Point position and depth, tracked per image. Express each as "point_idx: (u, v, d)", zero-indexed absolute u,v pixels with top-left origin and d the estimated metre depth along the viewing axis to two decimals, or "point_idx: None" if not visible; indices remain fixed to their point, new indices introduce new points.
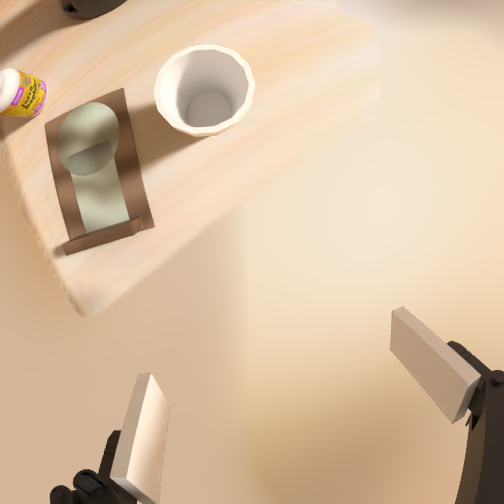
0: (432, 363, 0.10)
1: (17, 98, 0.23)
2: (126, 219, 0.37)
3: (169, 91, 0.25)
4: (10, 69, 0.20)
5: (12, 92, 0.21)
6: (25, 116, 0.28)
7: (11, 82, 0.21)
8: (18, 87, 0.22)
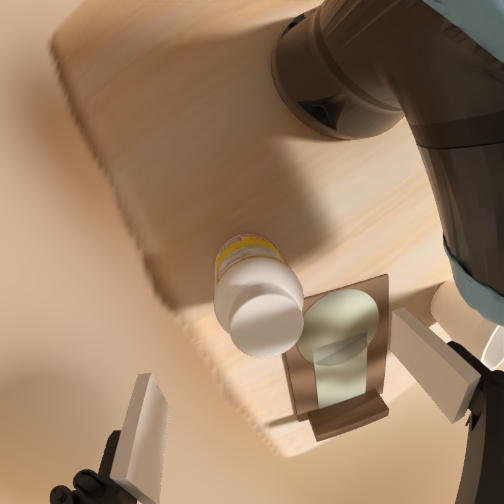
0: (432, 363, 0.10)
1: None
2: (363, 393, 0.37)
3: None
4: (287, 274, 0.19)
5: None
6: None
7: (299, 305, 0.20)
8: None
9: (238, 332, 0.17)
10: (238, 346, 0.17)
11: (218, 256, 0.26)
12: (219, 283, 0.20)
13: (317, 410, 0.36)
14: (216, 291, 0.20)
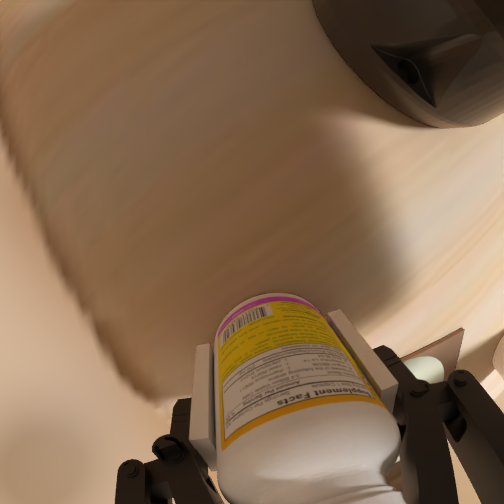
0: None
1: None
2: None
3: None
4: (386, 436, 0.06)
5: None
6: None
7: (391, 468, 0.07)
8: None
9: None
10: None
11: (220, 343, 0.13)
12: (229, 459, 0.07)
13: None
14: (222, 471, 0.07)
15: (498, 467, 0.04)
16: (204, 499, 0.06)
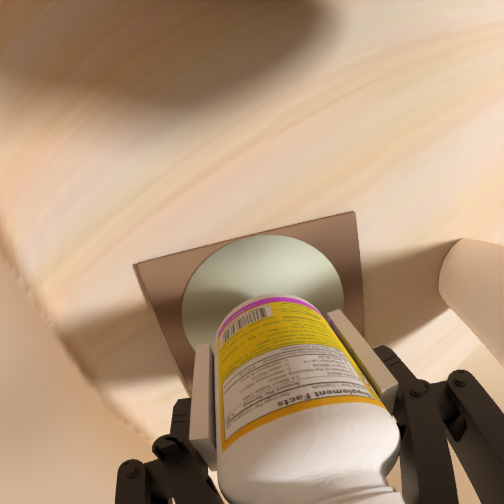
0: None
1: None
2: None
3: None
4: (386, 437, 0.06)
5: None
6: None
7: (391, 468, 0.07)
8: None
9: None
10: None
11: (220, 344, 0.13)
12: (229, 460, 0.07)
13: None
14: (223, 472, 0.07)
15: (498, 468, 0.04)
16: (204, 499, 0.06)
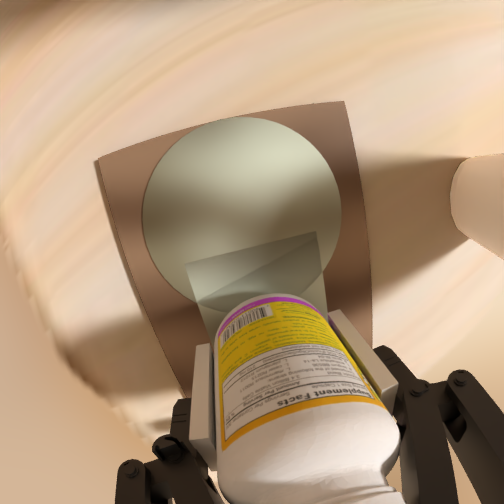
0: None
1: None
2: None
3: None
4: (386, 437, 0.06)
5: None
6: None
7: (391, 468, 0.07)
8: None
9: None
10: None
11: (220, 343, 0.13)
12: (229, 459, 0.07)
13: None
14: (223, 471, 0.07)
15: (498, 467, 0.04)
16: (204, 499, 0.06)
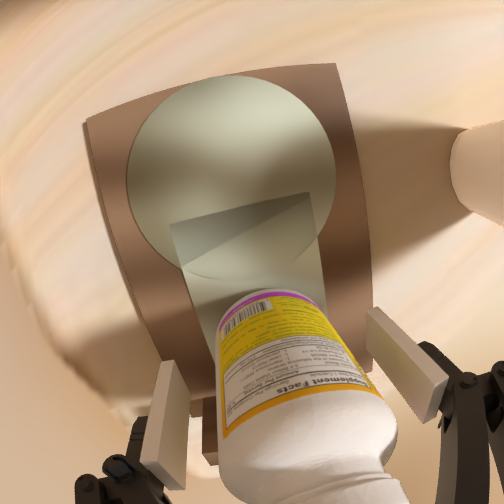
0: (402, 363, 0.11)
1: None
2: None
3: None
4: (383, 425, 0.07)
5: None
6: None
7: None
8: None
9: None
10: None
11: (221, 337, 0.14)
12: (230, 446, 0.07)
13: None
14: (224, 459, 0.07)
15: None
16: None
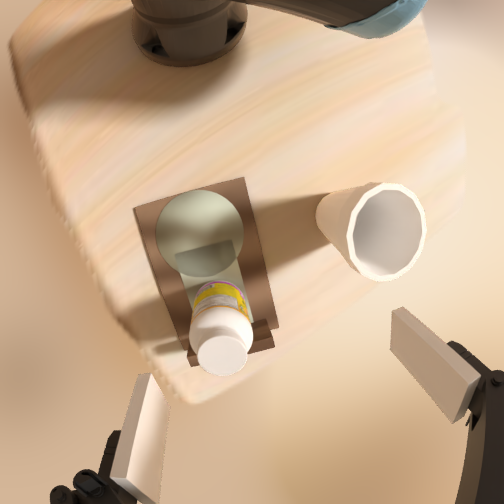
0: (432, 363, 0.10)
1: None
2: (250, 322, 0.38)
3: None
4: (237, 319, 0.27)
5: None
6: None
7: (248, 340, 0.28)
8: None
9: (203, 359, 0.25)
10: (204, 368, 0.25)
11: (195, 299, 0.34)
12: (192, 324, 0.28)
13: None
14: (190, 330, 0.28)
15: None
16: None
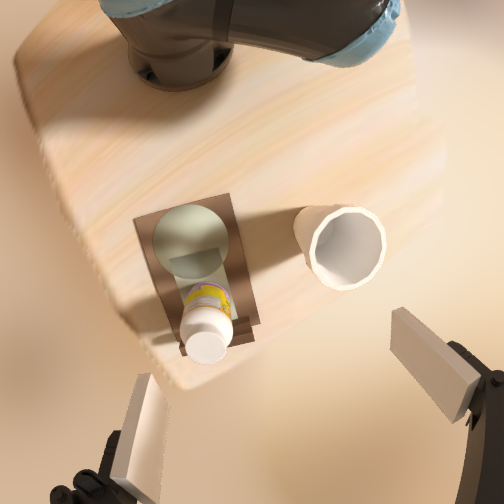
0: (432, 363, 0.10)
1: None
2: (235, 318, 0.44)
3: None
4: (219, 317, 0.33)
5: (229, 342, 0.34)
6: None
7: (228, 335, 0.33)
8: None
9: (189, 350, 0.30)
10: (190, 357, 0.31)
11: (186, 298, 0.40)
12: (182, 321, 0.33)
13: None
14: (180, 325, 0.33)
15: None
16: None
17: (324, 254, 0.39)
